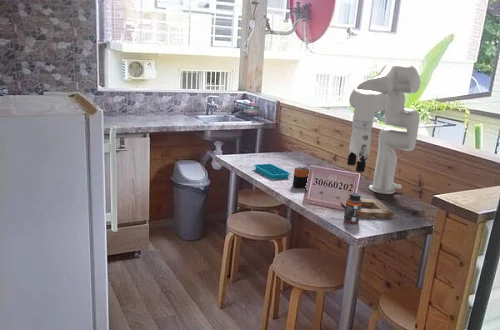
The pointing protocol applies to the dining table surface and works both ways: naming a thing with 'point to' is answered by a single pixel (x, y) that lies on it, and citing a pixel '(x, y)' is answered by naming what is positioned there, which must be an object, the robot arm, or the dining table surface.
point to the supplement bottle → (353, 208)
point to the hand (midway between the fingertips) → (355, 168)
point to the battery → (300, 177)
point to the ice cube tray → (272, 171)
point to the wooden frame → (375, 209)
